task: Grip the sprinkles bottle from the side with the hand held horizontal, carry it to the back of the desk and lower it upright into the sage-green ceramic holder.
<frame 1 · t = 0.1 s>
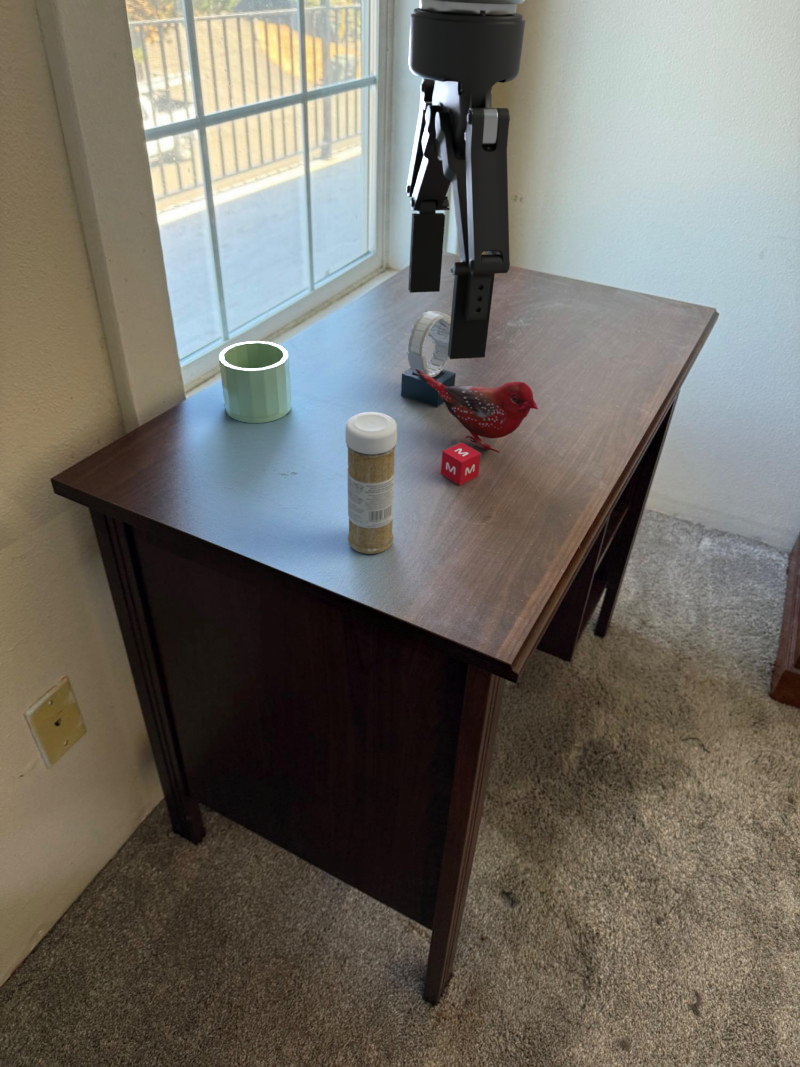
hand: (443, 321, 62), 22 cm above the table, tool pointing down, fingers open, 13 cm apart
holder: (258, 407, 94), on the table
decorative bird figurine: (467, 442, 89), on the table
watch: (427, 396, 98), on the table
sprinkles bottle: (370, 543, 74), on the table
red letter m cube: (459, 476, 84), on the table
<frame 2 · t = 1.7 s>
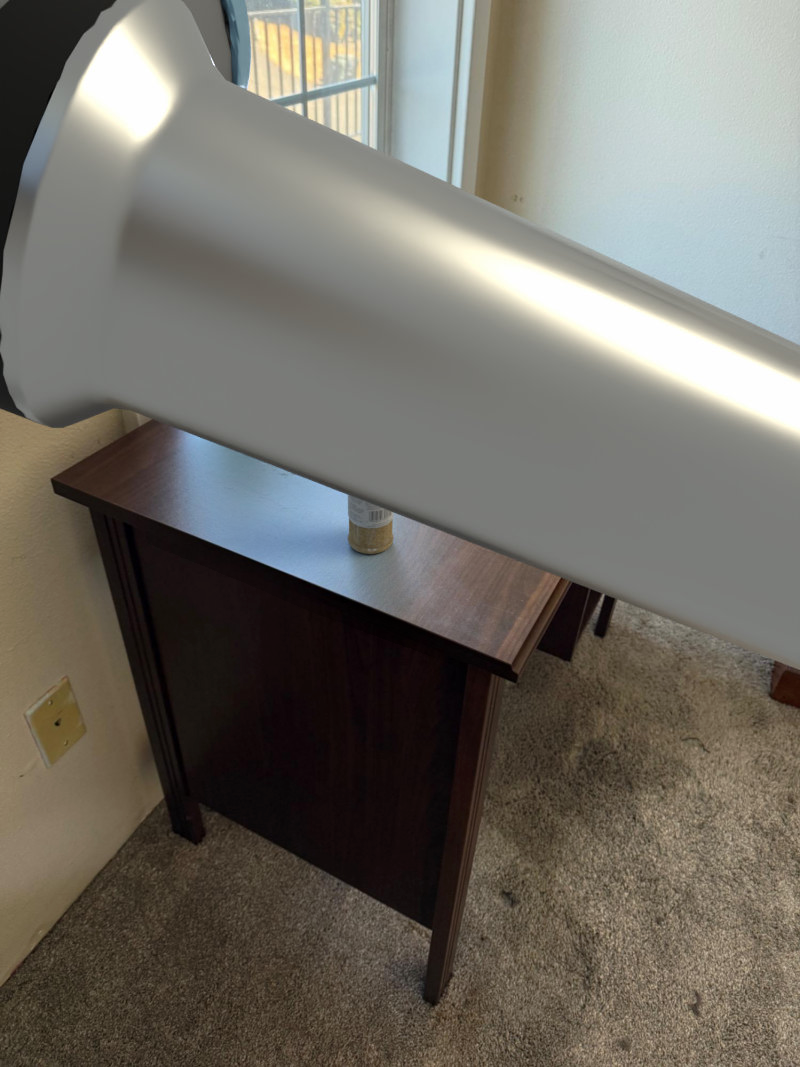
hand: (448, 391, 56), 20 cm above the table, tool horizontal, fingers open, 13 cm apart
nothing on the table moved.
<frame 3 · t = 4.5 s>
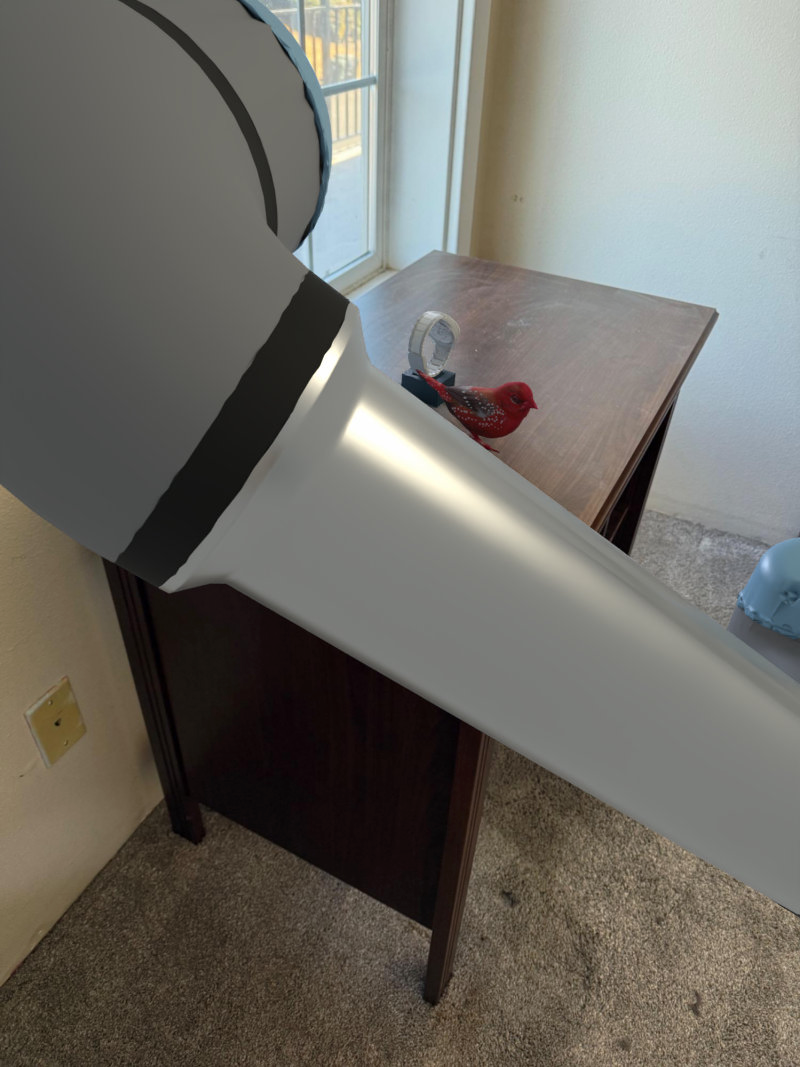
hand: (420, 519, 65), 7 cm above the table, tool horizontal, fingers open, 13 cm apart
nothing on the table moved.
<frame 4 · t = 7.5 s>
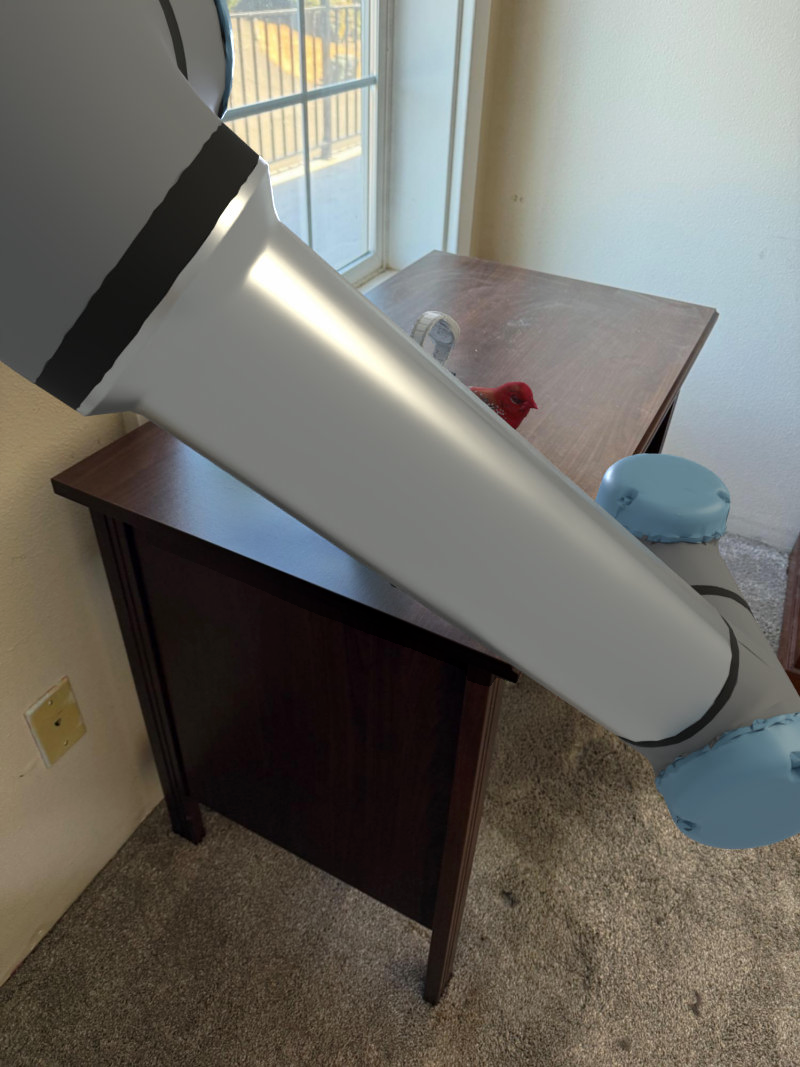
hand: (336, 458, 72), 7 cm above the table, tool horizontal, fingers closed on sprinkles bottle, 4 cm apart
sprinkles bottle: (370, 543, 74), on the table, touching gripper
everything else where it was.
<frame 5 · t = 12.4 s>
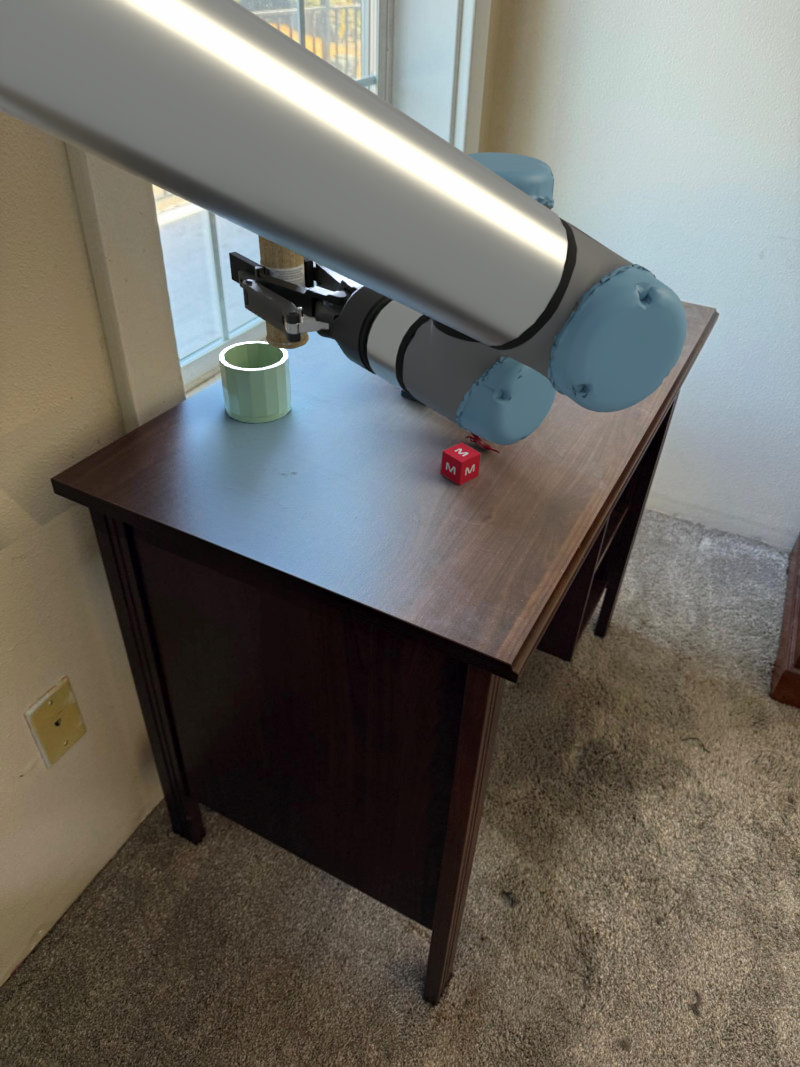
hand: (255, 261, 78), 20 cm above the table, tool horizontal, fingers closed on sprinkles bottle, 4 cm apart
sprinkles bottle: (287, 343, 79), point 13 cm above the table, touching gripper
everything else where it was.
when the fingers open (9 cm above the table, at t = 17.2 s): sprinkles bottle stays where it is, resting on holder.
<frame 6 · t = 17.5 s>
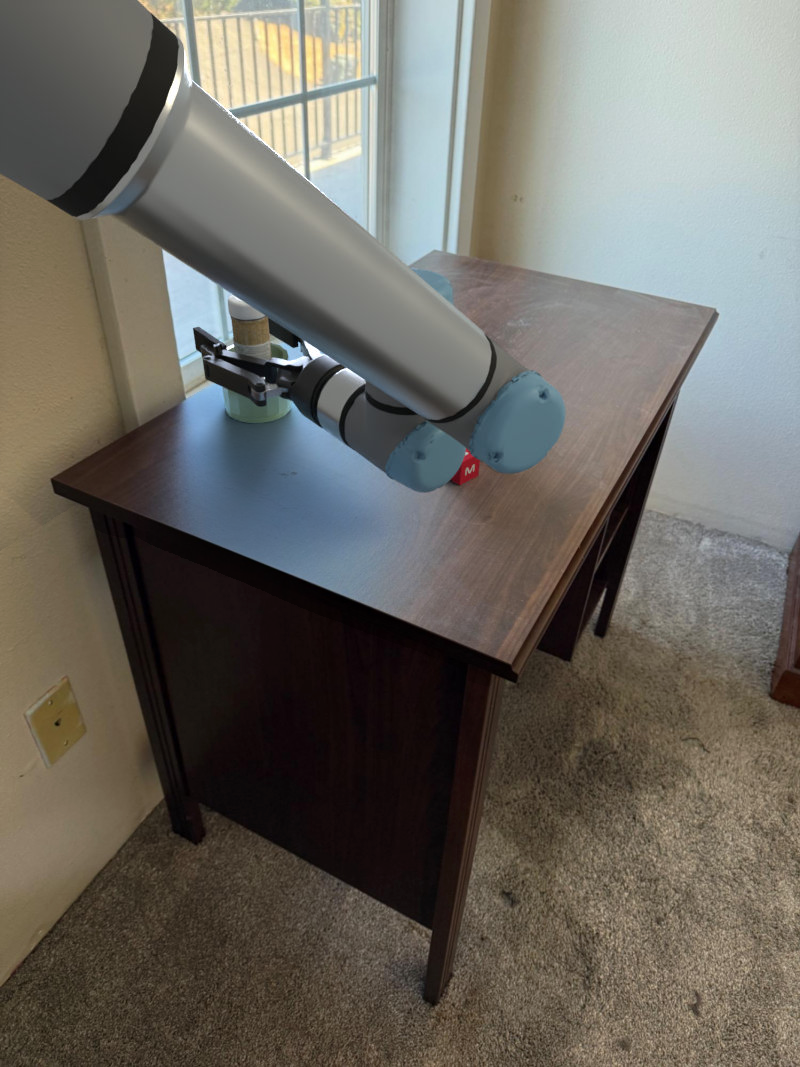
hand: (232, 328, 91), 9 cm above the table, tool horizontal, fingers open, 9 cm apart
sprinkles bottle: (257, 403, 94), point 1 cm above the table, touching holder
everything else where it was.
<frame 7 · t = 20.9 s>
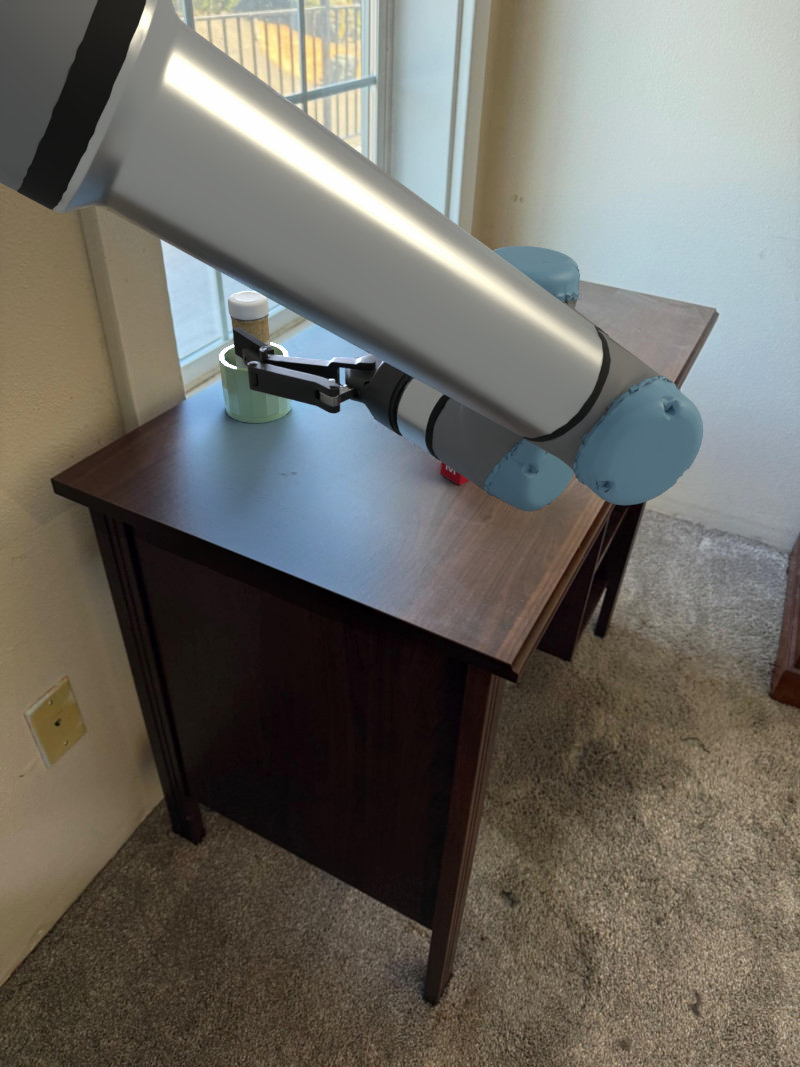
hand: (292, 325, 80), 14 cm above the table, tool horizontal, fingers open, 13 cm apart
nothing on the table moved.
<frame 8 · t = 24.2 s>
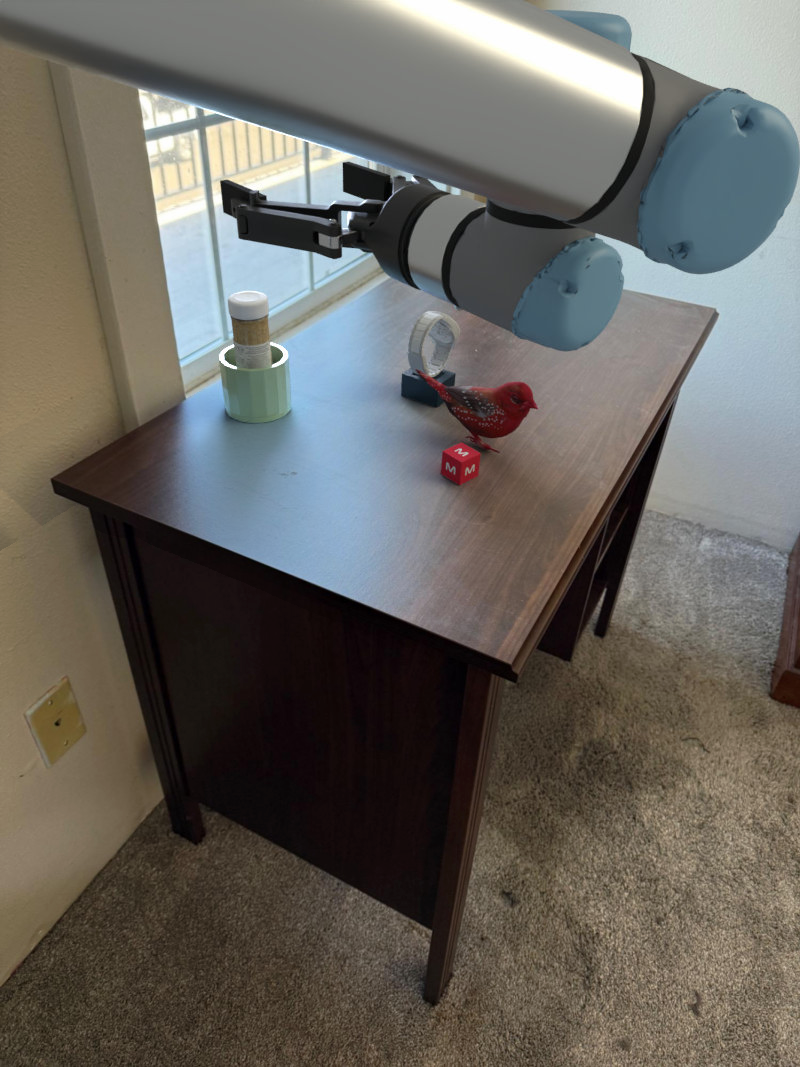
hand: (288, 185, 71), 28 cm above the table, tool horizontal, fingers open, 13 cm apart
nothing on the table moved.
at the end: sprinkles bottle 0.1 cm off-centre in the holder, point 0.6 cm above the holder's base; sprinkles bottle tilted 0°; the gripper is holding nothing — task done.
